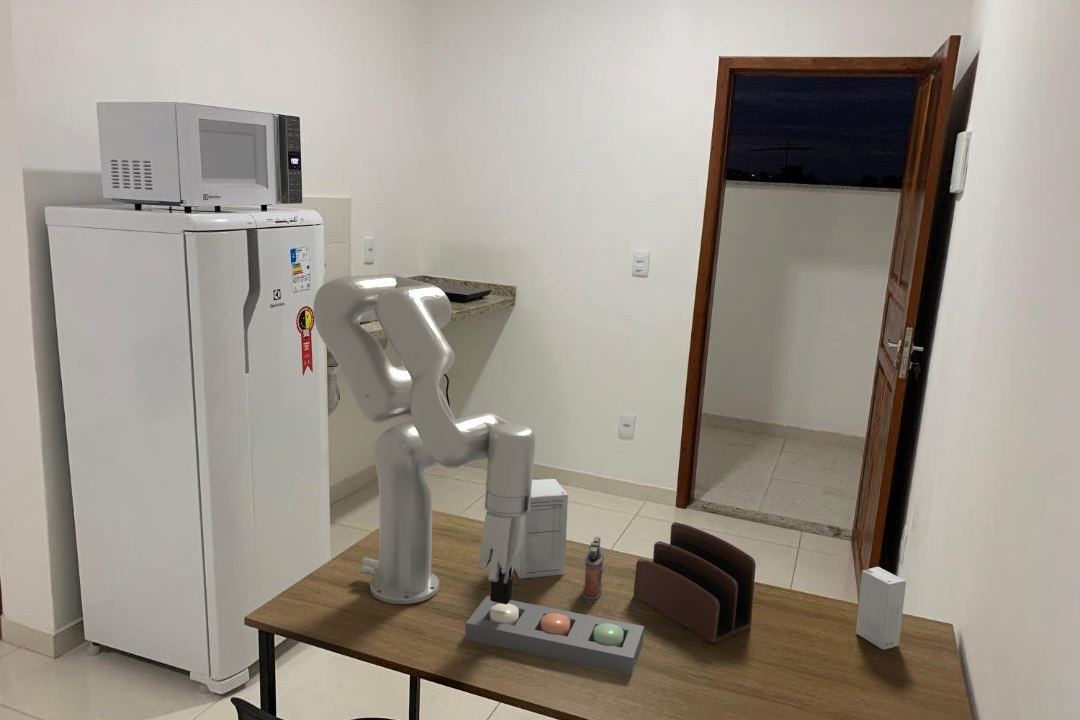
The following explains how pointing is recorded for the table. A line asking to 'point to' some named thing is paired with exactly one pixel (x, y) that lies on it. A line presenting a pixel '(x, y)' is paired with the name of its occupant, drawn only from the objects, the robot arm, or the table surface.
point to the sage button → (608, 635)
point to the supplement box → (544, 531)
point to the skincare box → (880, 607)
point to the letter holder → (699, 583)
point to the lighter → (593, 571)
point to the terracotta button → (555, 624)
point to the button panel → (557, 637)
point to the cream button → (504, 614)
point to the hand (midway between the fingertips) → (500, 600)
